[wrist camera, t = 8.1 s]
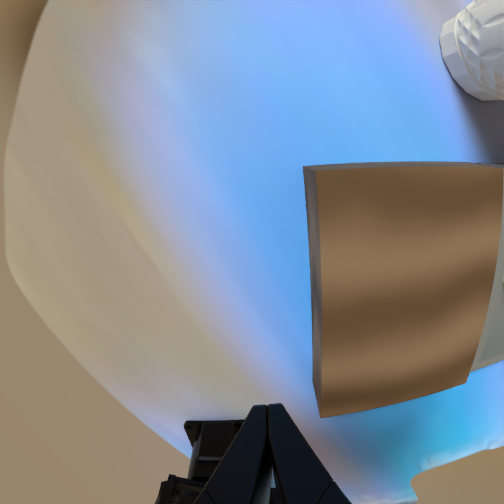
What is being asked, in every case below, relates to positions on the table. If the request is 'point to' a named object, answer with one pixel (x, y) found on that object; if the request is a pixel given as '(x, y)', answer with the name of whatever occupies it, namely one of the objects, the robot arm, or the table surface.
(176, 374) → the table surface
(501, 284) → the box
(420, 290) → the plate
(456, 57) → the white cup
